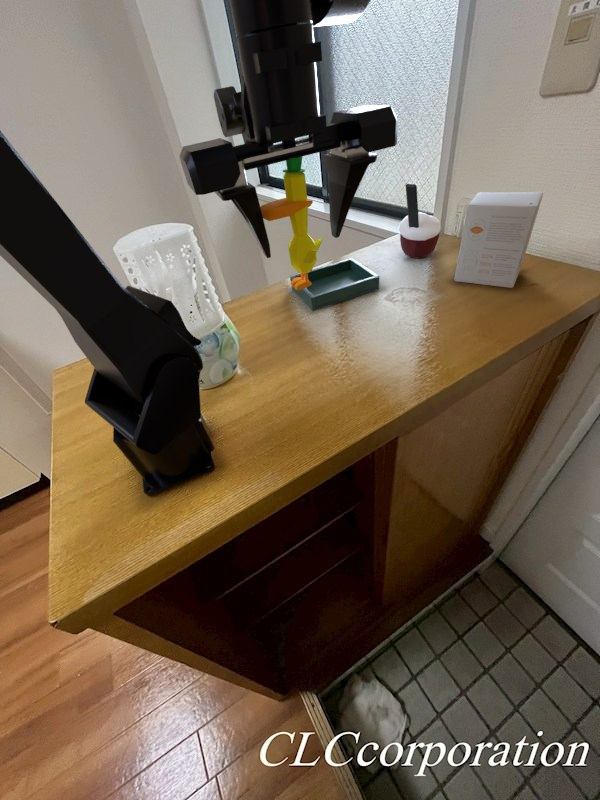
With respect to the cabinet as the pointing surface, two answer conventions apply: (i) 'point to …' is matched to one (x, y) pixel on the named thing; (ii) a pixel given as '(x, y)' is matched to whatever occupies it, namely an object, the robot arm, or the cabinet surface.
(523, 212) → the small box
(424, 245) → the red dessert cup
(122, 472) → the cabinet surface
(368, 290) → the tray
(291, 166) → the toy figure
